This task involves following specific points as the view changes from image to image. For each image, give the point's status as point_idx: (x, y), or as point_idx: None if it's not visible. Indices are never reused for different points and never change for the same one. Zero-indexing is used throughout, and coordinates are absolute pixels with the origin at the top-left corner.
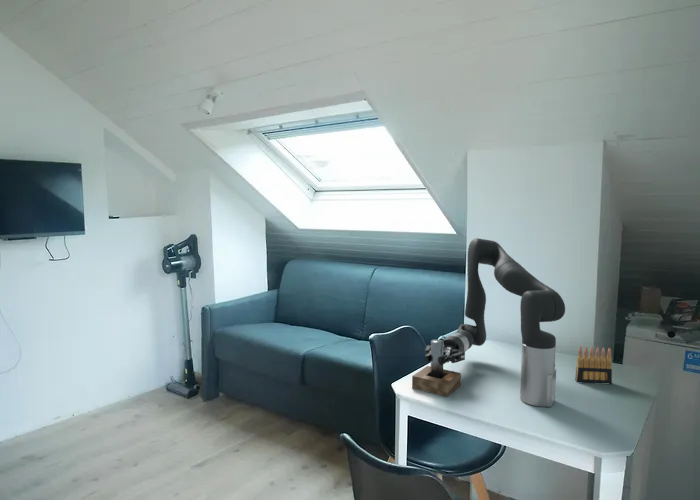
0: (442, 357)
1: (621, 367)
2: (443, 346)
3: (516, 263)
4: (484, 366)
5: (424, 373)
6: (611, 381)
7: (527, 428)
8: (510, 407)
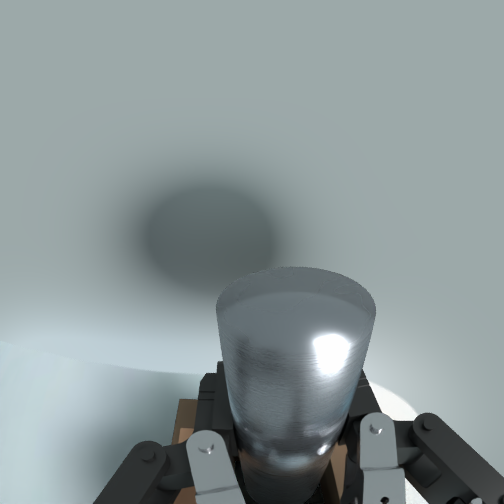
0: (219, 380)
1: None
2: (223, 360)
3: None
4: None
5: None
6: None
7: (12, 347)
8: (9, 419)
